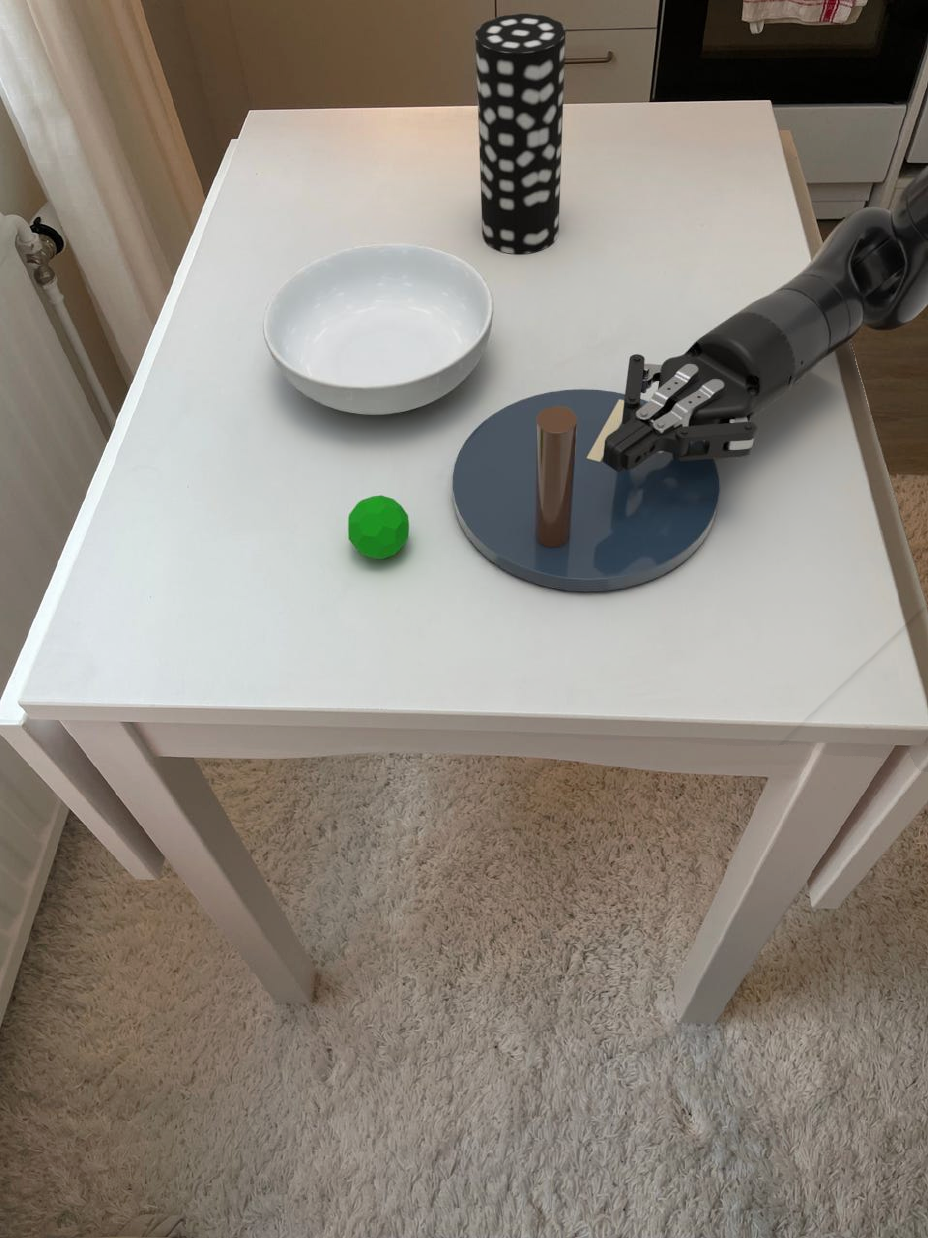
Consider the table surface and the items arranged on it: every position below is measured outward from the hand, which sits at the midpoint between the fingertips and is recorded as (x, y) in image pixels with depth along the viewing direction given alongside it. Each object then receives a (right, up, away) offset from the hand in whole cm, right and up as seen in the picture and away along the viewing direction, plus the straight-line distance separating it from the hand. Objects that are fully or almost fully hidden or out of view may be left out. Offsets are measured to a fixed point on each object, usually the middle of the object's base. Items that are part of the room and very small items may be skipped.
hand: (611, 459), depth 71 cm
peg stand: (-1, -1, +9) cm, 9 cm away
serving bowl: (-18, +12, +20) cm, 30 cm away
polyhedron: (-18, -6, +7) cm, 20 cm away
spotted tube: (-5, +30, +33) cm, 45 cm away
